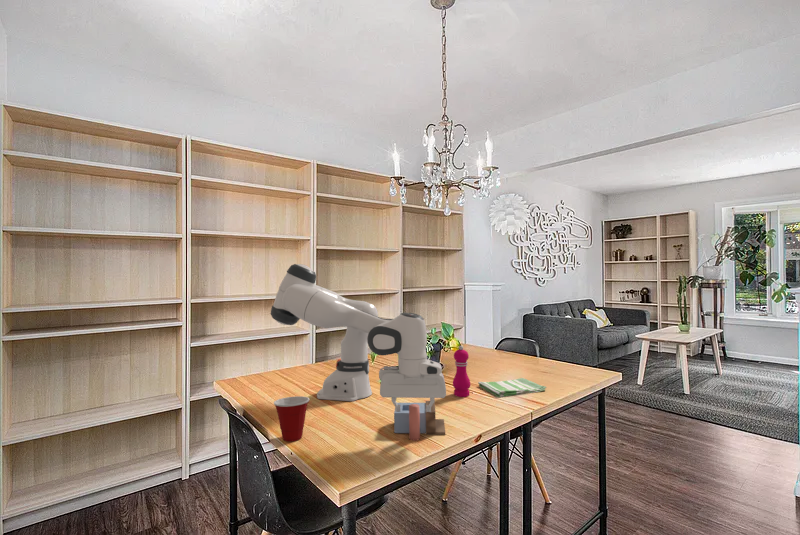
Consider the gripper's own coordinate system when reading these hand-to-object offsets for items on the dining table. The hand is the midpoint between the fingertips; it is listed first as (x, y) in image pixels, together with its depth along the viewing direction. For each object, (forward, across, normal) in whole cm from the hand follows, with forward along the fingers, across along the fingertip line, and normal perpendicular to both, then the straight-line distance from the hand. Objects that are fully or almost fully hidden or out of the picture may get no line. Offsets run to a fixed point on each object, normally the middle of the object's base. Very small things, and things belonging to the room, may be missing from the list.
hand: (413, 411), depth 127 cm
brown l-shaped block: (+8, +7, +9) cm, 14 cm away
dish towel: (+9, +40, +53) cm, 67 cm away
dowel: (+8, 0, 0) cm, 8 cm away
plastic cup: (+9, -38, 0) cm, 39 cm away
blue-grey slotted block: (+8, -1, +9) cm, 12 cm away
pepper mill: (+8, +18, +44) cm, 48 cm away
